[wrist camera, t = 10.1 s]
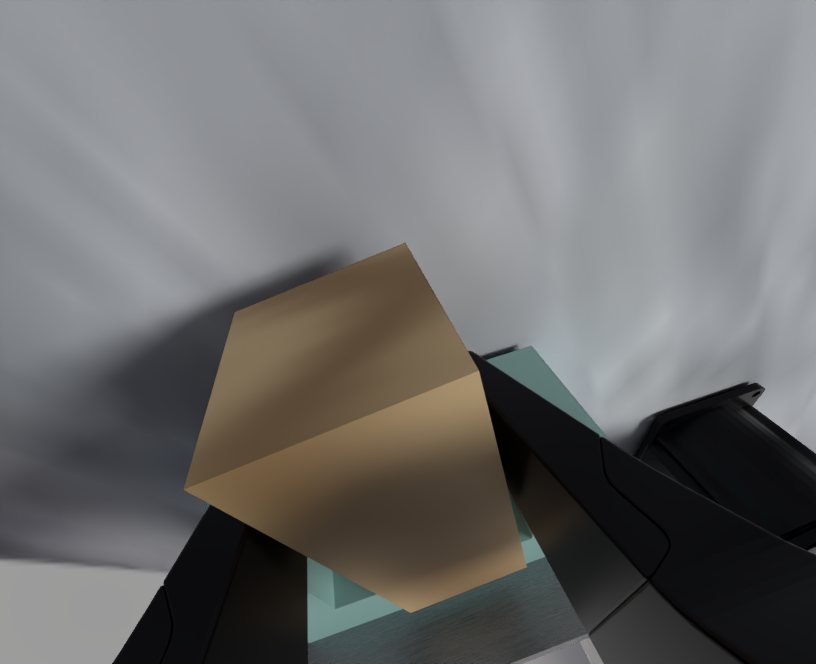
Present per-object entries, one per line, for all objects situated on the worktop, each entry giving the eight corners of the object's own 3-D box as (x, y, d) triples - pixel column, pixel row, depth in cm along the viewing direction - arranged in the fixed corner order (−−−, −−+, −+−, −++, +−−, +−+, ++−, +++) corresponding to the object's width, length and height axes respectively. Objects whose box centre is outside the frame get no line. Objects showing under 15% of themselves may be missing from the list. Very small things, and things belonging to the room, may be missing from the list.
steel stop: (543, 444, 17) (649, 609, 12) (537, 479, 20) (622, 628, 15) (280, 532, 16) (269, 757, 11) (309, 558, 19) (312, 749, 14)
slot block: (531, 345, 12) (614, 446, 9) (521, 457, 17) (571, 547, 14) (220, 443, 11) (186, 595, 8) (308, 530, 16) (309, 643, 13)
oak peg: (405, 242, 7) (478, 370, 4) (477, 456, 14) (526, 567, 11) (234, 311, 7) (183, 489, 4) (387, 492, 14) (410, 612, 11)
